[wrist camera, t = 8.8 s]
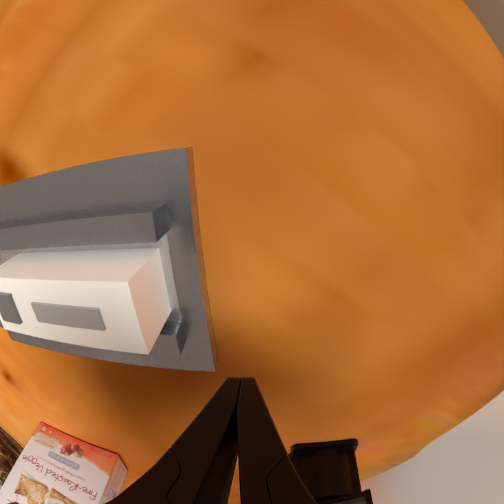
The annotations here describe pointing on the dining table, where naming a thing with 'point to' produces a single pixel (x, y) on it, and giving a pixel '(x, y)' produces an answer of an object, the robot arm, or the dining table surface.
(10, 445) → the jar
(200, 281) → the mount plate
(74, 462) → the cracker box
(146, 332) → the white rectangular block
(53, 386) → the dining table surface
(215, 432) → the robot arm
